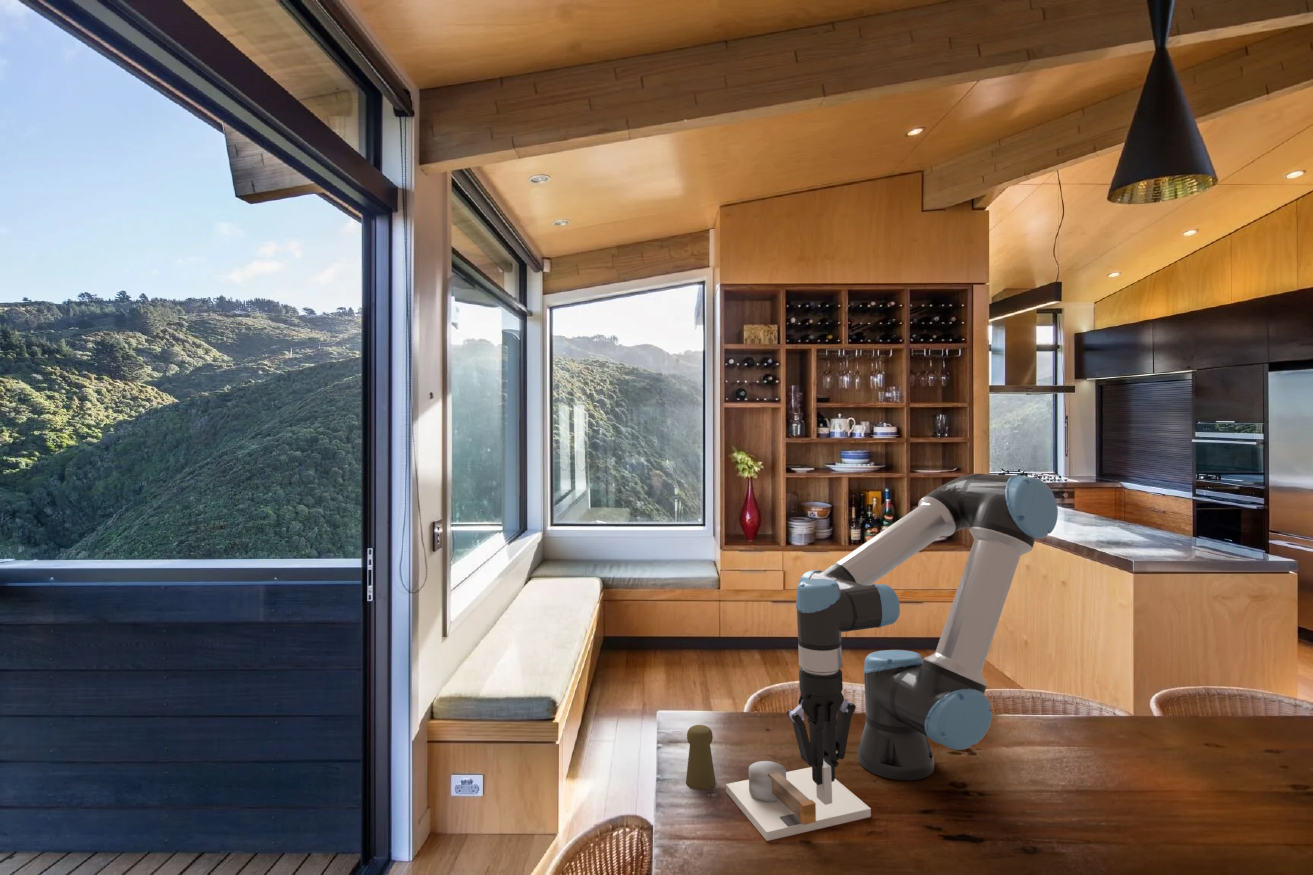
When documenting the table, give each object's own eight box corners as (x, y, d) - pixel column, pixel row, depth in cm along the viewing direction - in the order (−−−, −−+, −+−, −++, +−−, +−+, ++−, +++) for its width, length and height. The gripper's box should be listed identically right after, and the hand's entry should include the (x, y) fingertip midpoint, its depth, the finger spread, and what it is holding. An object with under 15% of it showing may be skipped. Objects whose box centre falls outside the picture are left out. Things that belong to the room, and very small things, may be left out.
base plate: (819, 772, 137) (819, 764, 137) (870, 816, 121) (870, 807, 121) (725, 791, 130) (725, 783, 130) (766, 840, 114) (766, 831, 114)
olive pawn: (714, 791, 131) (712, 734, 131) (683, 788, 132) (682, 732, 132) (717, 775, 136) (716, 721, 136) (688, 773, 138) (687, 720, 138)
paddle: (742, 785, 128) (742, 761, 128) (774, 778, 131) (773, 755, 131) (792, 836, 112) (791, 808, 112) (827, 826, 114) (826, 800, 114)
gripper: (839, 656, 124) (843, 782, 124) (777, 666, 120) (781, 796, 120) (864, 669, 117) (868, 803, 117) (798, 680, 113) (803, 818, 113)
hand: (824, 799), depth 119 cm, fingers closed
